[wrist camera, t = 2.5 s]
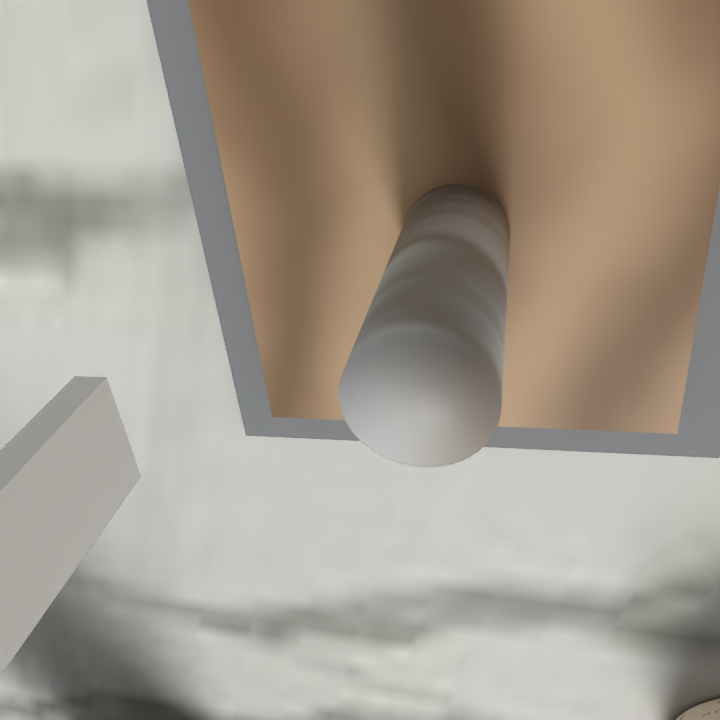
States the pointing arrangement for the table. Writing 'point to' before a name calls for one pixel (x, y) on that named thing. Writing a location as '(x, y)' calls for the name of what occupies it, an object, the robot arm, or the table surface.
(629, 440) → the rubber mat
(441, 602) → the table surface
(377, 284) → the lid board
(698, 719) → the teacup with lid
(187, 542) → the table surface
